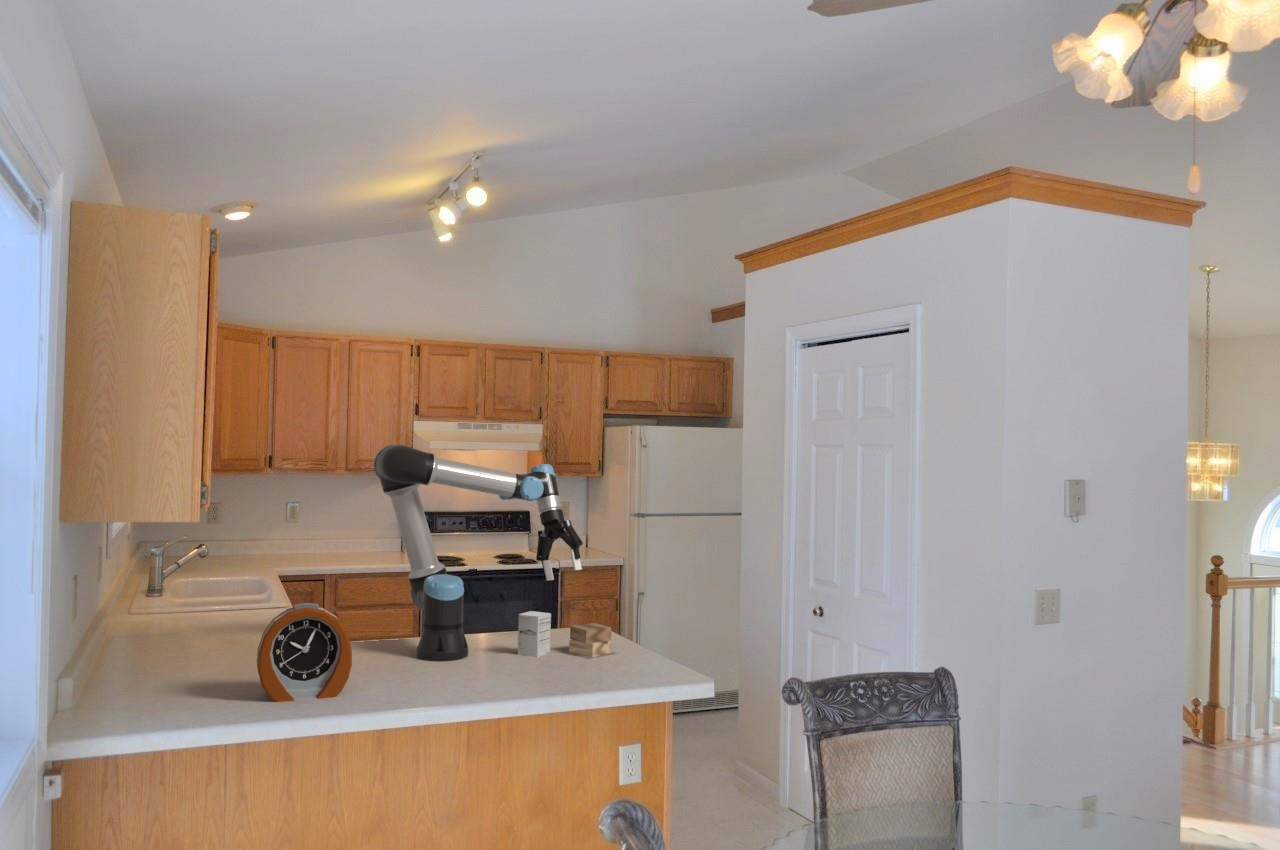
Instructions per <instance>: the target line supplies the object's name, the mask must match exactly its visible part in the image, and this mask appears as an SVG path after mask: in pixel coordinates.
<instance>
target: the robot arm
mask: <svg viewBox="0 0 1280 850" xmlns="http://www.w3.org/2000/svg"><path fill="white" fill-rule="evenodd" d="M373 470H374V472H375V474H376V476H377V477H378V478H379V481H380V485H381V488H382V492H383V494H384V495H387V496H388V497H389V498H390V500H391V501H390V502H391V503H392V508H393V511H394V515H395V518H396V521H397V524H398V528H399V531H400V534H401V535H400V536H401V539H402V543H403V545H404V549H405V553H406V557H407V559H408V563H409V567H410V569H411V571H410V572H409V574H408V576H407V577H408V581H409V585H410V596H411V600H412V602H413V603H414V606H416V608H418V609H419V610H420V611H422V612H423V621H422V623H423V626H422V633H421V635H420V639H419V642H418V646H417V648H416V657H417V658H418V659H420V660H426V661H439V662H440V661H444V662H445V661H455V660H460V659H464V658H467V657H468V656H469V646H468V642H467V640H466V639H467V638H466V635H465V632H464V629H463V627H464V593H465V587H464V581H463V579H462V578H460V577H459V576H458V575H452V574H448V571H447V568H446V565H445V564H443V563H442V562H440V561H439V559H438V556H437V551H436V548H435V545H434V541H433V537H432V533H431V530H430V528H429V524H428V520H427V518H426V514H425V510H424V506H423V503H422V500H421V499H422V498H421V496H420V493H419V492H420V491H419V487H420V485H424V486H428V485H430V484H438V485H443V486H447V487H453V488H459V489H465V490H470V491H475V492H481V493H486V494H492V495H496V496H498V498H499V499H501V500H502V501H505V500H506V501H507V500H509V501H510V500H513V499H514V500H517V499H518V500H523V501H527V502H534V501H536V503H537V508H538V512H539V519H540V523H541V525H542V526H543V527H544V529H543V530H538V531H537V536H538V537H537V538H538V540H537V547H536V548H537V550H536V556H535V558H536V559H535V560H536V561H538V562H541V565H542V570H543V571H544V574H545V578H546V579H545V580H546V582H547V581H554V580H555V577H554V573H553V568H552V562H551V559H550V554H551V551H552V548H553V543H555V541H556V540H558V539H562V540H563V542H564V543H565V544H566V545H568V546H569V548H570V550H569V552H570V557H571V562H572V566H573V571H581V570H583V567H582V563H581V552H580V547H581V546H583V541H582V539H581V537H580V536H579V535H578V533H577V531H576V530H575V528H574V527H573V525H572V521H571V520H570V519H566V520H565V516H564V512H563V511H564V510H562V502H561V497H560V494H559V489H558V483H557V478H556V474H555V469H554V468H553V466H552V464H548V463H542V464H537V465H534V466H533V467H531V469H530V473H525V474H524V473H522V474H519V473H515V472H509V471H505V470H499V469H493V468H489V467H485V466H480V465H473V464H469V463H465V462H460V461H453V460H449V459H445V458H444V459H443V458H439V457H437V456H436V455H435V454H434V453H432V452H426V451H423V450H419V449H418V448H413V447H411V446H409V445H405V444H389V445H387V446H384V447H383V448H381V449H380V450H379V452H377V454H376V455H375V457H374V461H373Z"/></svg>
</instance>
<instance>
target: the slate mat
mask: <svg viewBox="0 0 1280 850" xmlns="http://www.w3.org/2000/svg"><path fill="white" fill-rule="evenodd" d="M562 653H563V654H566V655H571V656H575V657H579V658H582V659H587V660H590V659H591V660H593V659H597V658H603V657H607V656H613V655H618V654H619V653H618V652H614V651H611V653H608V654H604V655H600V656H596V657H587V656H581V655H576V654H570V653H569V651H563V652H562Z"/></svg>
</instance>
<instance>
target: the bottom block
mask: <svg viewBox="0 0 1280 850" xmlns="http://www.w3.org/2000/svg"><path fill="white" fill-rule="evenodd" d="M568 649H569V651H568V652H569V653H570V654H576V655H581V656H587V657H596V656H600V655H604V654H608V653H611V652H612V640H611V641H605V642H597V643H589V644H585V643H582V642H578V641H575V640H572V639H570V640H569V647H568ZM570 654H569V655H570Z"/></svg>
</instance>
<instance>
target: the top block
mask: <svg viewBox="0 0 1280 850" xmlns="http://www.w3.org/2000/svg"><path fill="white" fill-rule="evenodd" d="M569 631H570V632H569V639H570V640H575V641H578V642H582V643H585V644H589V643H597V642H605V641H611V642H612V627H611V626H608V625H604V624H599V623H596V622H592V623H591V622H590V623H583V624H574V625H570V627H569Z"/></svg>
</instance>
